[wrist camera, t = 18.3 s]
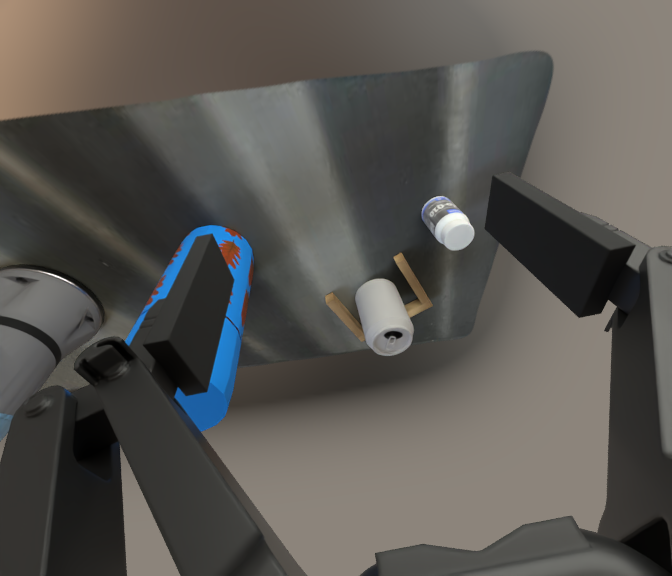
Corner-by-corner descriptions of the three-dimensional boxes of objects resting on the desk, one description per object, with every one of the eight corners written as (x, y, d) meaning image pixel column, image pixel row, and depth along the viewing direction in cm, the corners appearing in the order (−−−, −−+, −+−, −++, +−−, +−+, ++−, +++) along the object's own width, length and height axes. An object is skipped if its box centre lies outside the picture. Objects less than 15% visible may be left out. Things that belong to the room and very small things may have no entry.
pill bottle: (448, 189, 45) (475, 214, 38) (454, 217, 48) (480, 244, 41) (417, 204, 46) (438, 230, 39) (424, 229, 48) (445, 258, 42)
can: (401, 277, 54) (425, 326, 44) (388, 310, 58) (407, 360, 49) (360, 273, 52) (375, 323, 43) (350, 306, 57) (361, 358, 47)
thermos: (201, 209, 42) (123, 349, 23) (268, 249, 47) (252, 392, 28) (168, 263, 47) (79, 419, 27) (232, 294, 52) (197, 445, 32)
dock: (359, 334, 61) (361, 342, 60) (324, 296, 54) (326, 303, 53) (429, 298, 58) (432, 305, 56) (401, 252, 50) (404, 258, 49)
